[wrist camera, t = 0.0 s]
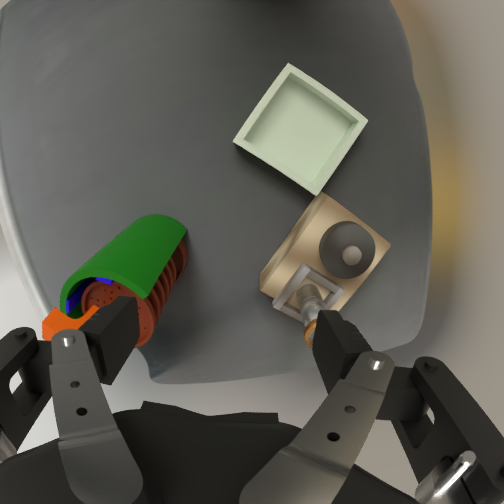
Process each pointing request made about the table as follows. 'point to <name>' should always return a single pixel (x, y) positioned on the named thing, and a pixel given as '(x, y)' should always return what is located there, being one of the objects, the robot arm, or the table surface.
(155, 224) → the motor
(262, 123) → the tray
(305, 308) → the pin
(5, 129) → the table surface
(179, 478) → the robot arm
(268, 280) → the pulley block
